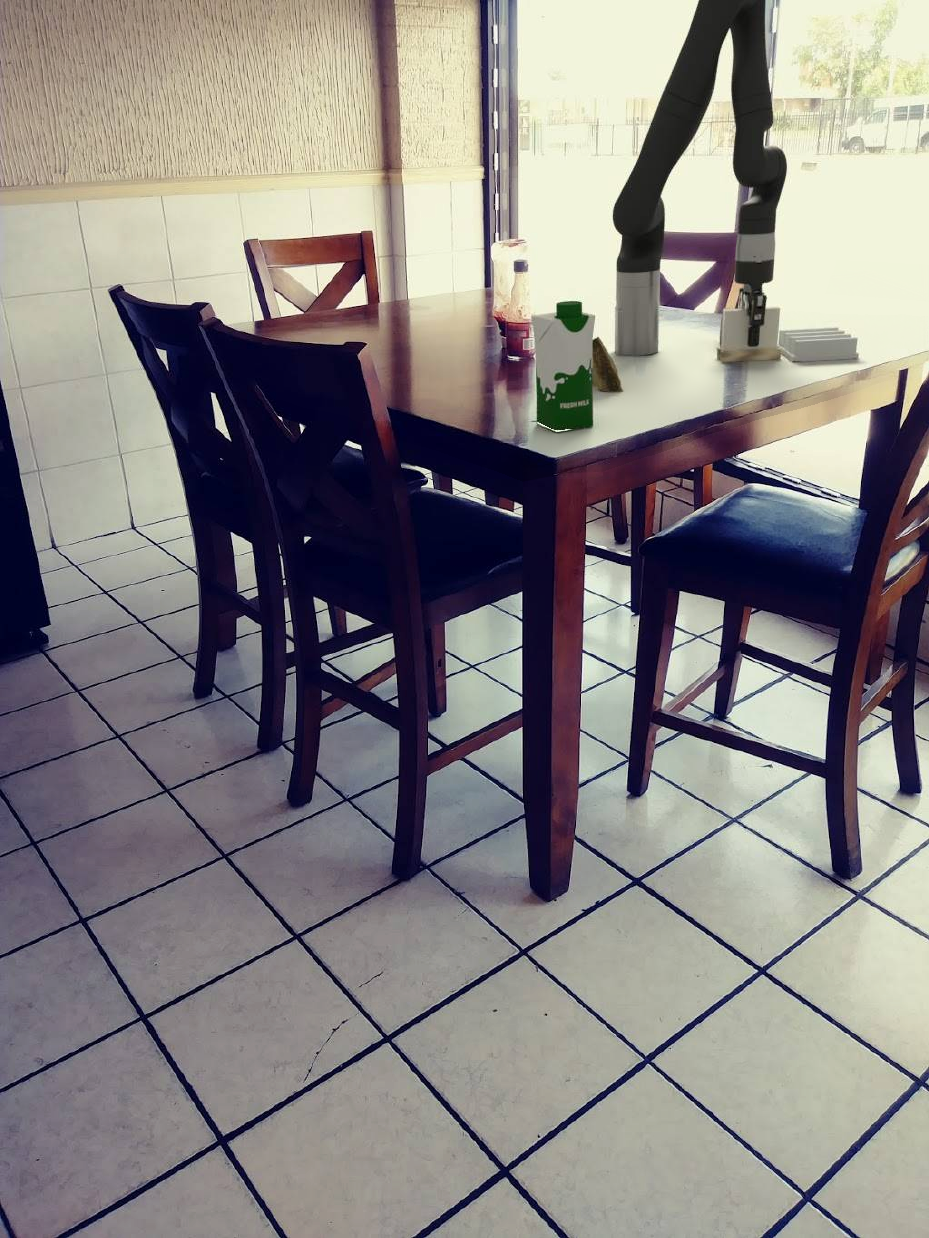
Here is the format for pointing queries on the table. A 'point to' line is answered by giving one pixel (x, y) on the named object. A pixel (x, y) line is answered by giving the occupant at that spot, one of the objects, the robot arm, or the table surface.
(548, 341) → the milk carton
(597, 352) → the rock
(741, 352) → the stand
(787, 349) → the rack
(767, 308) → the plate
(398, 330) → the table surface
